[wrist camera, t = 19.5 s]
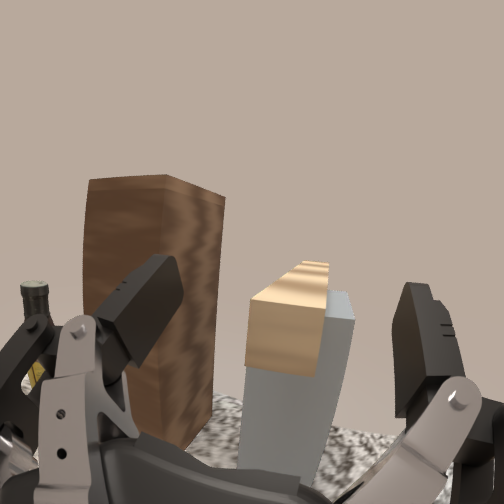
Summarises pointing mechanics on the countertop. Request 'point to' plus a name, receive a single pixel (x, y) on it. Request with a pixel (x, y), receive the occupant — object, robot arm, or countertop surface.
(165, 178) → the tall walnut stand
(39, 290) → the sauce bottle
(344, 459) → the countertop surface
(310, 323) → the beech bar
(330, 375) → the grey rectangular block
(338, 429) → the countertop surface
